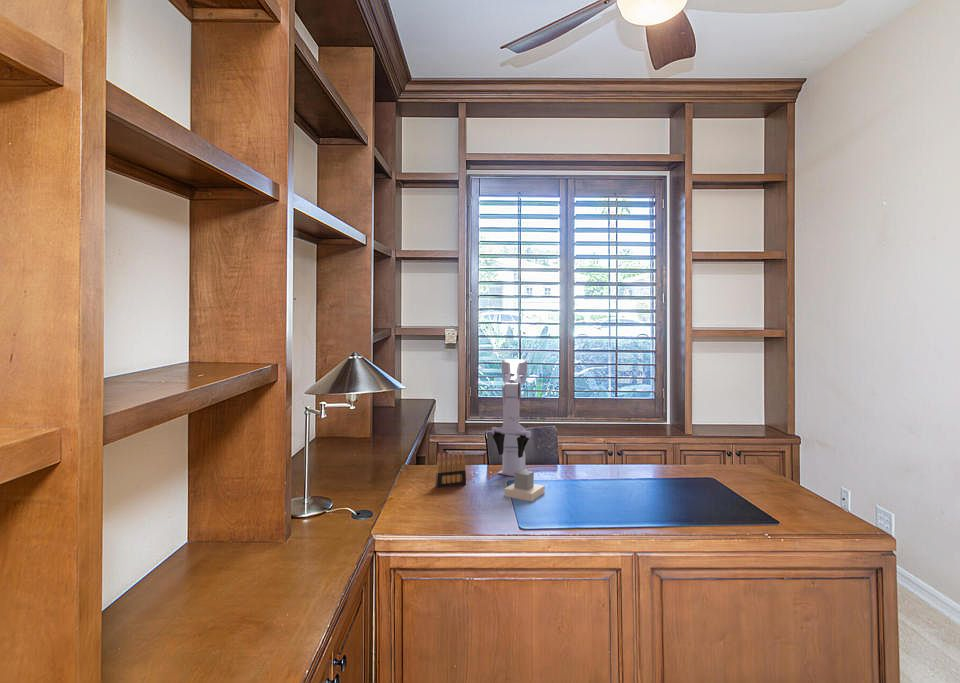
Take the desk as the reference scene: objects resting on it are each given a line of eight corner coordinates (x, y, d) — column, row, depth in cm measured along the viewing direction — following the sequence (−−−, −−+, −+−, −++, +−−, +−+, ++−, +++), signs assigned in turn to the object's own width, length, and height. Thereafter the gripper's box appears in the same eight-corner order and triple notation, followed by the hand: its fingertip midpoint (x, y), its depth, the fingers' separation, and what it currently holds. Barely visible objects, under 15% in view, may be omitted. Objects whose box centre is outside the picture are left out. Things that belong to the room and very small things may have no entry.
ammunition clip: (436, 487, 192) (437, 453, 192) (435, 486, 194) (435, 452, 193) (466, 484, 196) (466, 450, 196) (464, 483, 198) (464, 449, 197)
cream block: (517, 489, 193) (517, 480, 193) (544, 494, 188) (544, 485, 188) (504, 497, 184) (504, 488, 184) (531, 503, 179) (532, 493, 179)
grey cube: (520, 484, 189) (520, 469, 189) (533, 486, 187) (533, 471, 187) (514, 487, 185) (514, 472, 185) (527, 490, 183) (527, 475, 183)
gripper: (487, 416, 196) (486, 455, 196) (524, 420, 188) (524, 460, 189) (497, 413, 202) (496, 451, 202) (533, 417, 194) (533, 456, 195)
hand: (510, 455), depth 196 cm, fingers open, 7 cm apart
